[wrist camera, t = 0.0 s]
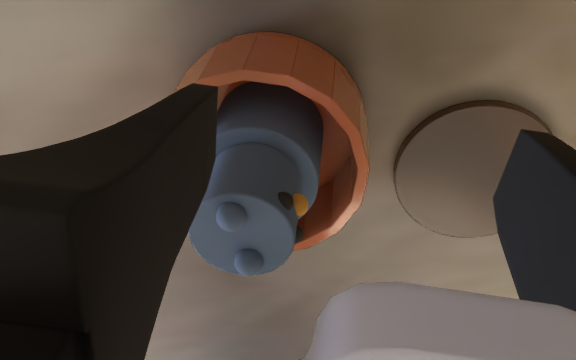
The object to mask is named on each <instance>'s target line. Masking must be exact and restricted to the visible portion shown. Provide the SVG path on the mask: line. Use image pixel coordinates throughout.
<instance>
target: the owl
mask: <svg viewBox="0 0 576 360" xmlns="http://www.w3.org/2000/svg"><path fill="white" fill-rule="evenodd" d="M322 142H323V123H322V119H321V115H320V113H319V111H318V109H317V107H316V106H315V104H314V103H313V102H312V100H311V99H310V98H308V97H306V96H304V95H302V94H300V93H299V92H297V91H295V90H293V89H291V88H289V87H288V86H281V85H274V84H267V83H260V82H253V81H251V82H247V83H245V84H242V85H240V86H238V87H237V88H235V89H234V90H232V91H231V92H230V93H229V94H228V95H227V96H226V97H225V98H224V100H223V101H222V103H221V105H220V107H219V109H218V111H217V133H216V159H215V163H214V167H213V170H212V174H211V178H210V181H209V184H208V188H207V191H206V193H205V195H204V198H203V200H202V202H201V205H200V207H199V209H198V211H197V213H196V216H195V218H194V220H193V222H192V224H191V227H190V229H189V235H190V239H191V242H192V244H193V246H194V248H195V249H196V251H197V252H198V254H199V255H200V256H201V257H202V258H203V259H204V260H206V261H207V262H208V263H210V264H211V265H213V266H215V267H216V268H218V269H221V270H223V271H226V272H229V273H233V274H237V275H244V276H254V275H259V274H264V273H268V272H270V271H273V270H275V269H276V268H278V267H279V266H281V265H282V264H283V263H284V262H285V261H286V260H287V259H288V258H289V256H290V255H291V253H292V251H293V248H294V245H295V244H297V243H299V242H300V241H301V240H302V238H303V231H302V229H301V227H300V226H298V225H297V223H298V219H300V218H301V217H302V216H303V215H304V214H305V213H306V212H307V211H308V210H309V209H310V207H311V206H312V205H313V203H314V201H315V198H316V195H317V192H318V184H319V173H320V163H321V152H322Z"/></svg>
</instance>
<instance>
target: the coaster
mask: <svg viewBox="0 0 576 360" xmlns="http://www.w3.org/2000/svg"><path fill="white" fill-rule="evenodd" d="M521 129H524V130H531V131H539V132H546V133H549V134H551V135H552V133H551V132H550V130H549V129H548V127H547V126H546V125H545V124H544V123H543V122H542V121H541V120H540V119H539V118H538V117H536V116H535V115H534V114H532V113H531V112H529V111H527V110H525V109H523V108H521V107H518V106H515V105H512V104H508V103H504V102H497V101H474V102H468V103H463V104H459V105H455V106H452V107H450V108H447V109H444V110H442V111H440V112H438V113H436V114H434V115H433V116H431V117H430V118H428V119H427V120H425V121H424V122H422V123H421V124H420V125H419V126H418V127H417V128H416V129H415V130H414V131H413V132H412V133H411V134H410V135H409V136H408V138H407V139H406V141H405V142H404V143H403V145H402V147H401V149H400V151H399V153H398V156H397V159H396V162H395V168H394V182H395V189H396V193H397V196H398V199H399V201H400V203H401V205H402V207H403V208H404V209H405V211H406V212H407V213H408V214H409V215H410V216H411V217H412V218H413V219H414V220H415V221H416V222H418V223H419V224H420V225H422V226H424V227H425V228H427V229H429V230H432V231H434V232H437V233H440V234H443V235H447V236H452V237H462V238H474V237H483V236H488V235H493V234H497V233H498V231H497V225H496V219H495V212H494V204H493V196H494V194H495V192H496V189H497V187H498V184H499V182H500V179H501V177H502V174H503V172H504V169H505V167H506V164H507V162H508V159H509V157H510V155H511V152H512V150H513V147H514V145H515V142H516V140H517V137H518V135H519V132H520V130H521Z"/></svg>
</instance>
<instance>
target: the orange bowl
mask: <svg viewBox="0 0 576 360" xmlns="http://www.w3.org/2000/svg"><path fill="white" fill-rule="evenodd" d="M251 81H253V82H260V83H267V84H274V85H281V86H288V87H289V88H291V89H293V90H295V91H297V92H299V93H300V94H302V95H304V96H306V97H308V98H310V99H311V100H312V102H313V103H314V104H315V106H316V107H317V109H318V111H319V113H320V115H321V119H322V123H323V142H322V152H321V163H320V173H319V184H318V192H317V195H316V198H315V201H314V203H313V205H312V206H311V207H310V209H309V210H308V211H307V212H306V213H305V214H304V215H303V216H302V217H301V218H300V219H298V223H297V225H298V226H300V227H301V229H302V231H303V238H302V240H301V241H300V242H299V243H297V244H295V245H294V248H293V251H295V250H302V249H307V248H309V247H311V246H313V245H315V244H317V243H319V242H321V241H323V240H324V239H326V238H328V237H330V236H332V235H334V234H336V233H338V232H339V231H340V230H341V229H342V228H343V226H344V225H345V224H346V223H347V221H348V220H349V219H350V218H351V217H352V215H353V214H354V213H355V212H356V210H357V209H358V208H359V207H360V206H361V204H362V201H363V196H364V192H365V188H366V183H367V179H368V175H369V146H368V124H367V120H366V115H365V109H364V103H363V100H362V97H361V94H360V92H359V89H358V87H357V85H356V83H355V81H354V80H353V78H352V77H351V75H350V74H349V72H348V71H347V70H346V69H345V68H344V67H343V65H342V64H341V63H340V62H339V61H338V60H337V59H335V58H334V57H333V56H332V55H331V54H330V53H328V52H327V51H325V50H324V49H322V48H320V47H319V46H317V45H315V44H313V43H311V42H309V41H307V40H304V39H301V38H298V37H296V36H292V35H287V34H282V33H274V32H256V33H248V34H243V35H239V36H236V37H233V38H230V39H227V40H225V41H223V42H221V43H219V44H217V45H215V46H214V47H212V48H211V49H210V50H208V51H207V52H205V53H204V54H203V55H202V56H201V57H200V58H199V59H198V60H197V61H196V62H195V64H193V65H192V66H191V67H190V68H189V69H188V71H187V72H186V74H185V76H184V77H183V79H182V80H181V82H180V84H179V85H178V87H177V88H176V90H175V92H177V91H178V90H180V89H182V88H184V87H186V86H187V85H190V84H192V83H196V84H203V85H210V86H217V87H218V102H217V111H218V109H219V107H220V105H221V103H222V101H223V100H224V98H225V97H226V96H227V95H228V94H229V93H230V92H231V91H232V90H234V89H235V88H237V87H238V86H240V85H242V84H245V83H247V82H251ZM175 92H174V93H175Z"/></svg>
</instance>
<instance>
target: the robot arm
mask: <svg viewBox="0 0 576 360" xmlns="http://www.w3.org/2000/svg"><path fill="white" fill-rule="evenodd" d="M217 102H218V87H217V86H210V85H203V84H196V83H192V84H190V85H187V86H186V87H184V88H182V89H180V90H178V91H177V92H175V93H173V94H171V95H170V96H168V97H166V98H165V99H163V100H161V101H159V102H157V103H156V104H154V105H152V106H150V107H149V108H147V109H145V110H143V111H141V112H139V113H137V114H135V115H133V116H131V117H129V118H127V119H125V120H122V121H120V122H118V123H116V124H114V125H112V126H109V127H107V128H104V129H102V130H99V131H97V132H94V133H91V134H88V135H85V136H83V137H80V138H76V139H73V140H69V141H66V142H62V143H58V144H54V145H51V146H47V147H43V148H39V149H35V150H30V151H24V152H19V153H14V154H8V155H1V156H0V360H144V359H145V355H146V351H147V348H148V344H149V341H150V337H151V334H152V331H153V327H154V324H155V321H156V317H157V314H158V311H159V307H160V304H161V301H162V298H163V295H164V292H165V288H166V285H167V282H168V279H169V276H170V273H171V270H172V267H173V265H174V262H175V260H176V257H177V255H178V253H179V251H180V249H181V246H182V244H183V242H184V240H185V238H186V235H187V233H188V231H189V229H190V227H191V224H192V222H193V220H194V218H195V216H196V213H197V211H198V209H199V207H200V205H201V202H202V200H203V198H204V195H205V193H206V191H207V188H208V184H209V181H210V178H211V174H212V170H213V167H214V163H215V159H216V133H217ZM493 204H494V212H495V219H496V225H497V231H498V235H499V238H500V241H501V244H502V248H503V251H504V254H505V257H506V260H507V263H508V266H509V269H510V272H511V275H512V278H513V281H514V284H515V287H516V290H517V293H518V296H519V299H520V300H519V299H512V298H505V297H499V296H492V295H485V294H478V293H471V292H465V291H458V290H451V289H444V288H437V287H431V286H424V285H417V284H410V283H403V282H375V283H360V284H358V285H356V286H354V287H352V288H349V289H347V290H345V291H343V292H341V293H339V294H337V295H335V296H333V297H330V299H329V300H328V302H327V304H326V305H325V307H324V308H323V310H322V311H321V313H320V314H319V316H318V318H317V319H316V324H315V329H314V333H313V338H312V343H311V346H310V349H309V351H308V353H307V355H306V356H305V357H304V358H302V359H300V360H576V150H575V149H573V148H572V147H570V146H569V145H567V144H566V143H564V142H563V141H561V140H560V139H558V138H556V137H555V136H553V135H551V134H549V133H546V132H539V131H531V130H524V129H521V130H520V132H519V135H518V137H517V140H516V142H515V145H514V147H513V150H512V152H511V155H510V157H509V159H508V162H507V164H506V167H505V169H504V172H503V174H502V177H501V179H500V182H499V184H498V187H497V189H496V192H495V194H494V196H493Z"/></svg>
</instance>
